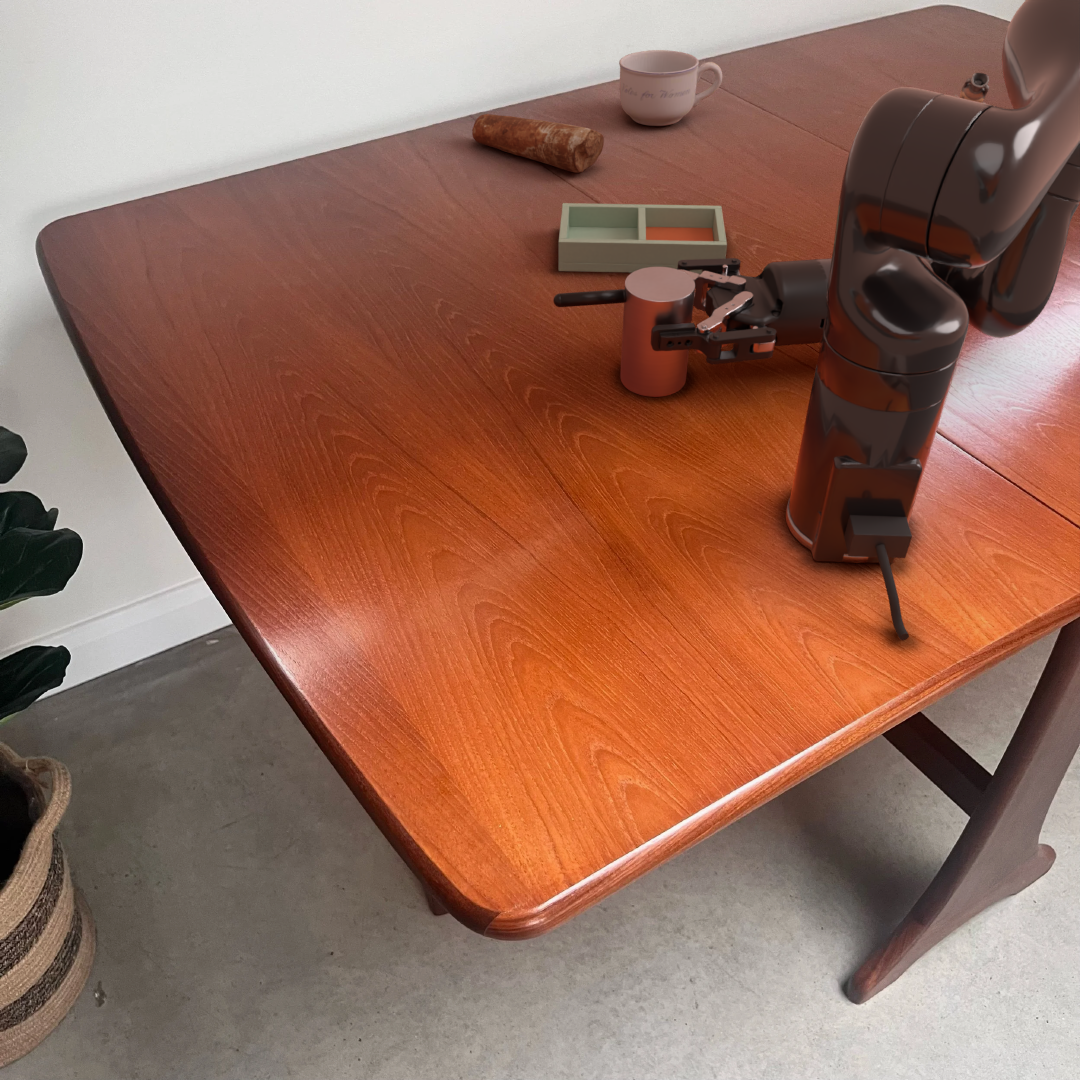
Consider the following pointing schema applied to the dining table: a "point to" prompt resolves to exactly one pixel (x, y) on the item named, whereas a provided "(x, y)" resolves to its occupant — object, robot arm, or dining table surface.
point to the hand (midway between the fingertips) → (643, 313)
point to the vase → (975, 87)
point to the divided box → (638, 236)
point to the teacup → (662, 85)
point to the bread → (540, 140)
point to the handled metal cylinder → (647, 326)
